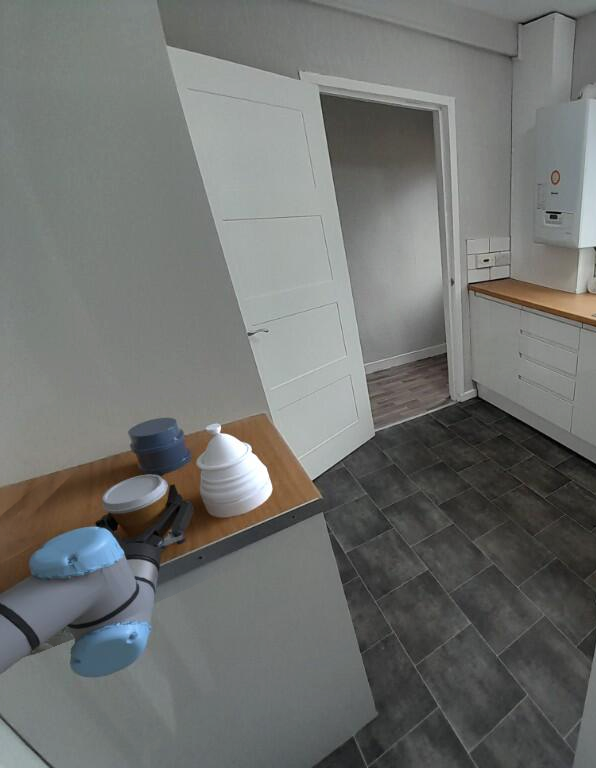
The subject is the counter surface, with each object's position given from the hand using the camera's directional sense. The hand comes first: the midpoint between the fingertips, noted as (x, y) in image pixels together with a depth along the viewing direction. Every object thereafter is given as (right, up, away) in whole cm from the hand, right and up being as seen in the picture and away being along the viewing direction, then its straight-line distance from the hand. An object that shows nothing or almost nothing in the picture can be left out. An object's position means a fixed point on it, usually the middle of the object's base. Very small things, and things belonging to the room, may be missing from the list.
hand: (146, 497), depth 82 cm
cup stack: (-14, +3, +21) cm, 26 cm away
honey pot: (+12, -3, +10) cm, 16 cm away
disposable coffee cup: (+2, -8, -1) cm, 8 cm away
